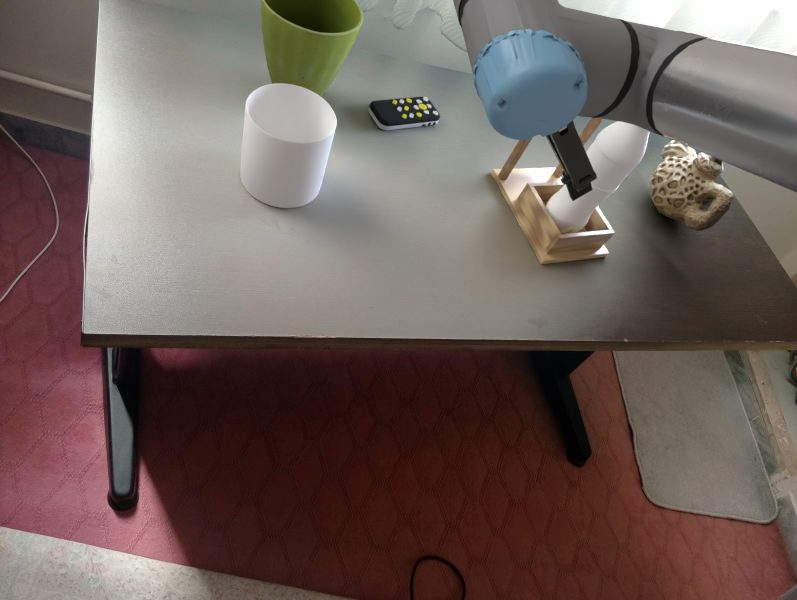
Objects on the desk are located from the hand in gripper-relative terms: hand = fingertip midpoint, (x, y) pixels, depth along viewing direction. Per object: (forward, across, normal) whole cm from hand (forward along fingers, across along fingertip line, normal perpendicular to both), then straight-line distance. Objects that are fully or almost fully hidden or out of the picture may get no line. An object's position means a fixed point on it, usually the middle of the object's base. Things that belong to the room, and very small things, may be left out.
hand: (555, 155), depth 72 cm
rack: (+21, -4, -4) cm, 22 cm away
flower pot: (-4, -34, -29) cm, 45 cm away
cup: (-9, -15, -34) cm, 39 cm away
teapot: (+41, -2, +16) cm, 44 cm away
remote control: (+8, -29, -16) cm, 34 cm away
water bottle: (+21, -1, -3) cm, 21 cm away
